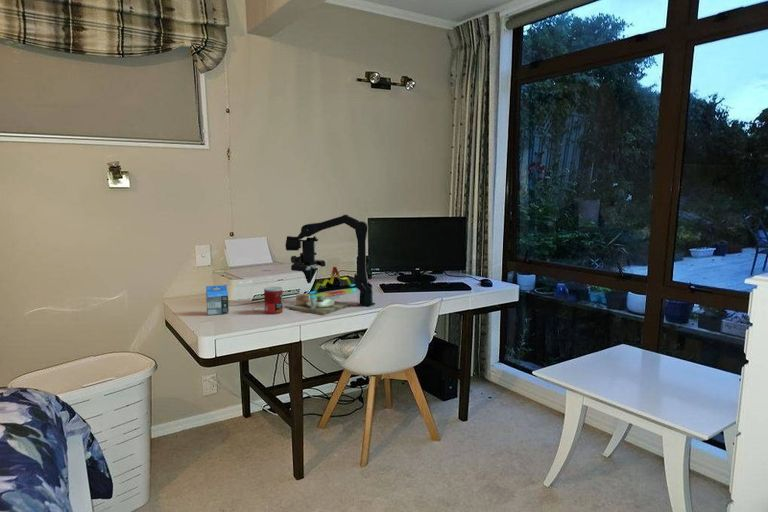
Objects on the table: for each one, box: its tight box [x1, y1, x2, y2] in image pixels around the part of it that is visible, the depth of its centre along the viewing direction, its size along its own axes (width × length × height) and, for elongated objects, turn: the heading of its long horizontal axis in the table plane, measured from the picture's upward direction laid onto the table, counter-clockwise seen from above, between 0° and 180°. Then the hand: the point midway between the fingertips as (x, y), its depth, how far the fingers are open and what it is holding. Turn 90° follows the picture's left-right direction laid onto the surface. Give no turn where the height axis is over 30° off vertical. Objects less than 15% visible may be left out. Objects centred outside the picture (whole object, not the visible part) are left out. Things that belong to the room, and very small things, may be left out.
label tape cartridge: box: [205, 284, 230, 316], centre depth 211 cm, size 9×4×12 cm, turn 114°
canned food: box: [263, 286, 284, 315], centre depth 214 cm, size 8×8×11 cm
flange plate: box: [295, 293, 335, 308], centre depth 224 cm, size 18×13×4 cm
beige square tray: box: [288, 299, 351, 316], centre depth 224 cm, size 20×20×6 cm
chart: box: [304, 266, 357, 299], centre depth 248 cm, size 30×3×15 cm, turn 132°
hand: (309, 283), depth 229 cm, fingers closed
